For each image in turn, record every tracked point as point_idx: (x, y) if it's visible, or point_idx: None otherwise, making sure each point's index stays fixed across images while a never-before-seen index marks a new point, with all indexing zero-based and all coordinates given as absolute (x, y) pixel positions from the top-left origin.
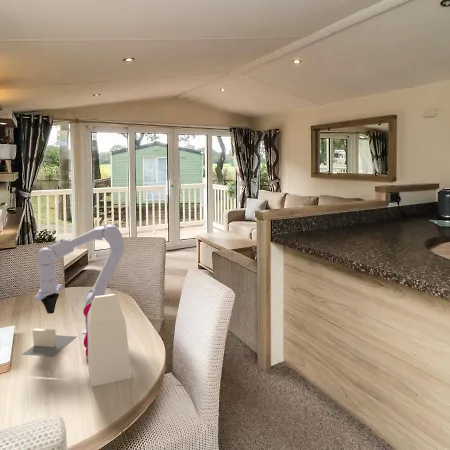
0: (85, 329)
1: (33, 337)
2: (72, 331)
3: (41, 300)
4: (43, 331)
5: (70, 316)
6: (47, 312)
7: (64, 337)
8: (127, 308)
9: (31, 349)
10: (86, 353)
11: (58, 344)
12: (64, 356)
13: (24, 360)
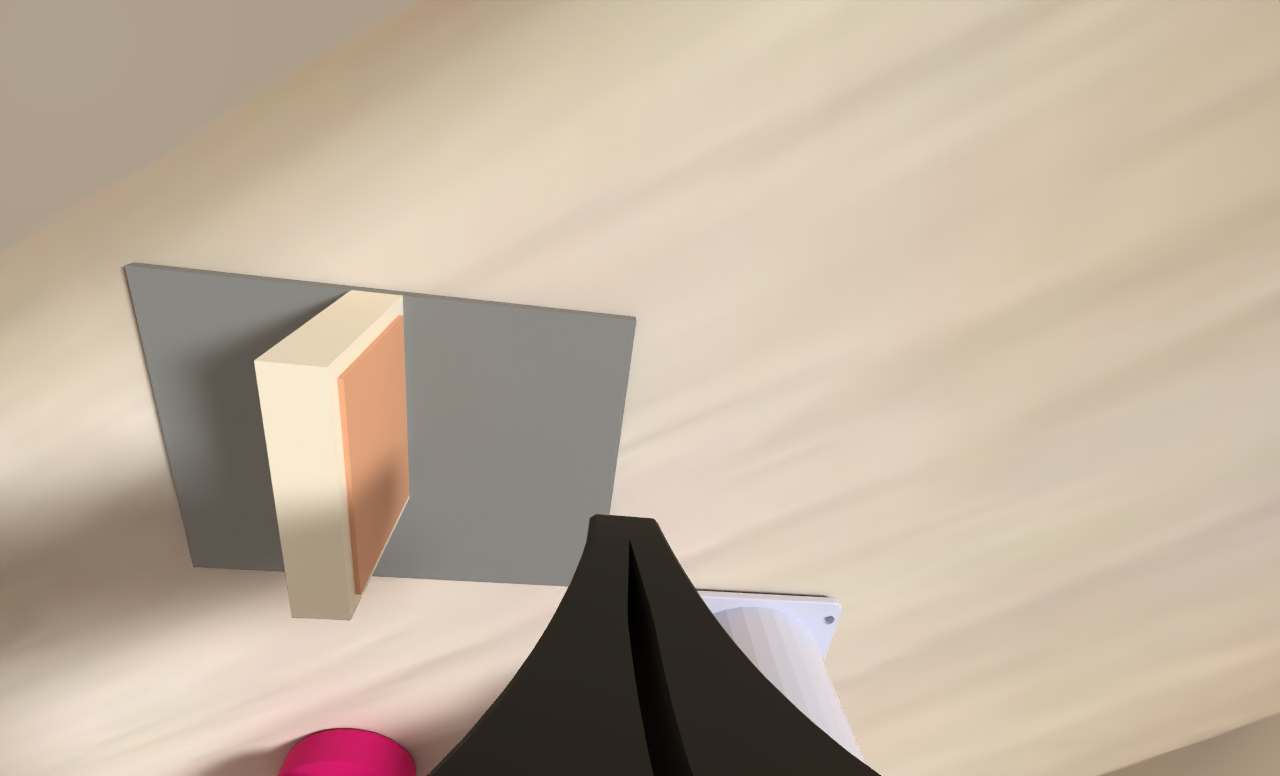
0: (740, 601)
1: (308, 325)
2: (735, 494)
3: (449, 770)
4: (282, 508)
5: (1165, 314)
6: (588, 530)
7: (575, 498)
8: (1170, 712)
9: (260, 310)
10: (286, 763)
11: (421, 511)
12: (247, 623)
13: (52, 346)
